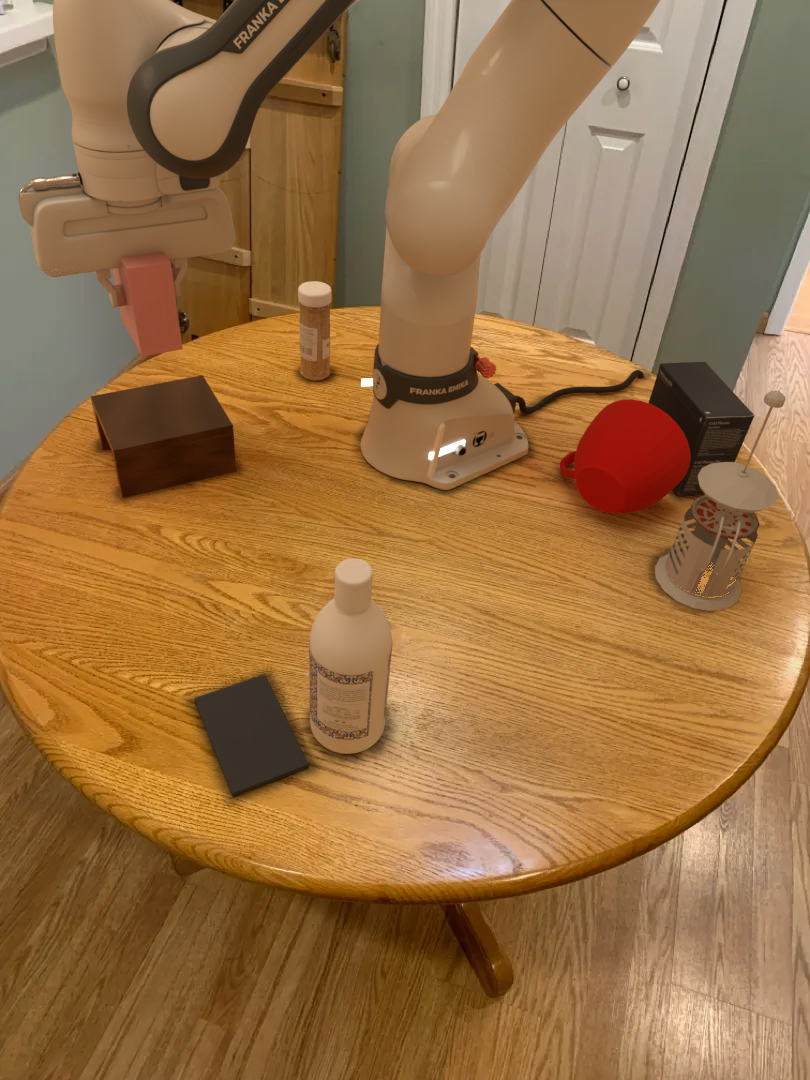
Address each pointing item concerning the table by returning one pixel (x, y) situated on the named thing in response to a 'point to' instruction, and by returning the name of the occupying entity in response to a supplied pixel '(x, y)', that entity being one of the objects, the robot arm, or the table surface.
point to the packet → (149, 303)
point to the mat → (250, 735)
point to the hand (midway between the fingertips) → (146, 300)
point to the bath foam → (349, 664)
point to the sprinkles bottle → (314, 329)
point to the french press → (718, 530)
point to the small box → (701, 416)
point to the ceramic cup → (628, 457)
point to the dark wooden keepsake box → (165, 434)
